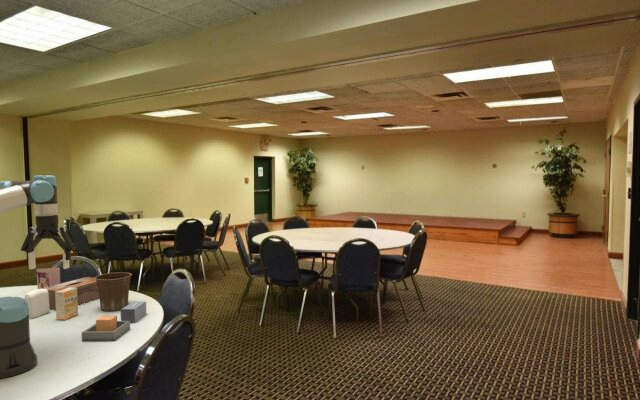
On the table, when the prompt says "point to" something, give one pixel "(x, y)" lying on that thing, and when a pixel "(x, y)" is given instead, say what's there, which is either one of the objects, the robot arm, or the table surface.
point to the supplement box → (66, 303)
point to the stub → (106, 323)
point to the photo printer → (37, 302)
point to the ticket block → (133, 311)
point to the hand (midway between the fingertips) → (49, 268)
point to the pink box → (48, 277)
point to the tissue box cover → (85, 290)
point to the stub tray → (105, 332)
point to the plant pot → (113, 290)
